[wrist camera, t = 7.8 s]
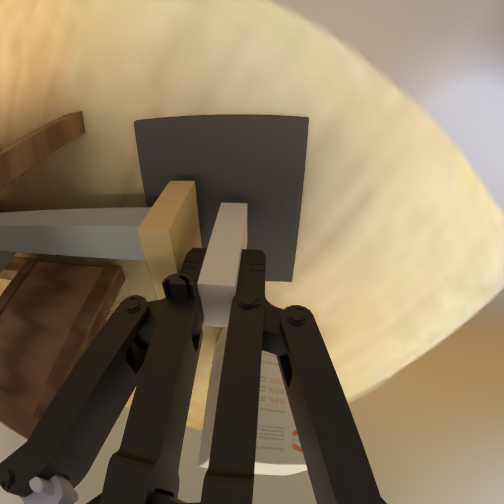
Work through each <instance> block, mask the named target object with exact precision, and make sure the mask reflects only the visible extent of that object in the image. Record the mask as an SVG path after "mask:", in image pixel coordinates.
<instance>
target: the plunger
mask: <svg viewBox="0 0 504 504" xmlns="http://www.w3.org/2000/svg"><path fill="white" fill-rule="evenodd" d="M192 248H202V243H201V235H200V226H199V217H198V208H197V198H196V188H195V181H170V182H169V183H168V185H167V186H166V187H165V189H164V190H163V192H162V193H161V195H160V196H159V198H158V199H157V200H156V202H155V203H154V205H153V206H152V207H127V208H83V209H57V210H37V211H20V212H5V213H1V212H0V273H1V271H2V270H3V269H4V267H5V266H6V265H7V264H8V262H9V261H10V260H11V259H12V257H13V256H14V255H15V254H16V253H17V252H24V253H37V254H51V255H65V256H79V257H94V258H110V259H126V260H143V261H146V264H147V267H148V271H149V274H150V277H151V281H152V284H153V287H154V291H155V294H156V297H157V300H161V299H163V298H165V293H164V290H163V286H162V282H163V280H164V279H165V278H166V277H168V276H169V275H172V274H175V273H180V270H181V268H182V264H183V262H184V259H185V256H186V254H187V253H188V252H189V251H190V250H191V249H192Z"/></svg>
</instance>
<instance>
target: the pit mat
mask: <svg viewBox="0 0 504 504" xmlns="http://www.w3.org/2000/svg"><path fill="white" fill-rule="evenodd" d="M308 122H309V119H308V117H294V116H276V115H199V116H181V117H167V118H156V119H146V120H137V121H135V122H134V127H135V135H136V142H137V149H138V156H139V162H140V168H141V174H142V180H143V185H144V191H145V196H146V201H147V206H148V207H152V206H153V205H154V203H155V202H156V200H157V199H158V198H159V196H160V195H161V193H162V192H163V190H164V189H165V187H166V186H167V185H168V183H169V182H170V181H195V188H196V198H197V208H198V217H199V226H200V235H201V243H202V248H208V244H209V241H210V238H211V234H212V231H213V228H214V225H215V221H216V218H217V215H218V212H219V208H220V205H221V203H247V249H252V250H262V251H263V252H264V254H265V256H266V271H265V281H285V282H292V277H293V269H294V261H295V254H296V245H297V237H298V228H299V220H300V210H301V201H302V191H303V181H304V171H305V159H306V148H307V135H308Z"/></svg>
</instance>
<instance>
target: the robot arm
mask: <svg viewBox="0 0 504 504" xmlns="http://www.w3.org/2000/svg"><path fill="white" fill-rule="evenodd" d="M265 271H266V256H265V254H264V252H263V251H262V250H252V249H247V203H221V205H220V208H219V212H218V215H217V218H216V221H215V225H214V228H213V231H212V234H211V238H210V241H209V244H208V248H192V249H191V250H190V251H189V252H188V253H187V254H186V256H185V259H184V262H183V264H182V268H181V270H180V273H175V274H172V275H169V276H168V277H166V278H165V279H164V280H163V282H162V286H163V290H164V293H165V298H163V299H161V300H156V301H151V302H147V301H146V299H145V298H143V297H142V296H137V295H135V296H130V297H128V298H126V299H124V300H123V301H122V302H121V303H120V305H119V306H118V307H117V309H116V310H115V311H114V313H113V314H112V315H111V317H110V318H109V319H108V321H107V322H106V323H105V325H104V326H103V327H102V329H101V330H100V331H99V333H98V334H97V335H96V337H95V338H94V340H93V341H92V342H91V344H90V345H89V346H88V348H87V349H86V351H85V352H84V354H83V355H82V356H81V358H80V359H79V361H78V362H77V364H76V365H75V366H74V368H73V369H72V371H71V372H70V374H69V375H68V377H67V378H66V380H65V381H64V383H63V384H62V386H61V387H60V389H59V390H58V392H57V393H56V395H55V397H54V398H53V400H52V401H51V403H50V404H49V406H48V408H47V409H46V411H45V412H44V414H43V416H42V417H41V419H40V421H39V422H38V424H37V425H36V427H35V429H34V431H33V432H32V434H31V436H30V437H29V439H28V441H27V442H26V443H25V444H24V445H22V446H21V447H20V448H19V449H17V450H16V451H15V452H14V453H13V454H11V455H10V456H9V457H7V458H6V459H5V460H4V461H2V462H1V463H0V485H1V487H2V488H3V489H4V490H5V491H7V492H9V493H12V494H15V495H18V496H20V497H21V499H22V500H23V502H24V504H74V502H76V501H78V494H77V492H76V491H75V490H74V488H75V487H76V486H77V485H78V484H79V483H80V482H81V481H82V479H83V478H84V477H85V476H86V474H87V472H88V471H89V469H90V468H91V466H92V464H93V462H94V460H95V458H96V457H97V455H98V453H99V451H100V449H101V447H102V446H103V444H104V442H105V440H106V438H107V436H108V435H109V433H110V431H111V429H112V427H113V426H114V424H115V422H116V420H117V419H118V417H119V415H120V413H121V412H122V410H123V408H124V406H125V405H126V403H127V401H128V399H129V398H130V396H131V394H132V392H133V391H134V389H135V387H136V386H137V387H136V390H135V394H134V397H133V401H132V404H131V408H130V412H129V416H128V419H127V423H126V427H125V431H124V435H123V439H122V443H121V446H120V449H119V450H118V452H116V453H114V454H113V455H112V457H111V458H110V461H109V464H108V468H107V473H106V478H105V482H104V487H103V492H102V493H101V494H100V495H98V496H97V497H95V498H94V499H93V500H91V501H90V502H88V503H87V504H252V496H253V484H254V469H255V455H256V440H257V425H258V409H259V392H260V375H261V357H262V350H263V351H266V352H269V353H272V354H275V355H276V357H277V361H278V364H279V368H280V372H281V375H282V379H283V383H284V386H285V390H286V394H287V397H288V401H289V405H290V408H291V412H292V415H293V419H294V423H295V426H296V430H297V434H298V437H299V441H300V444H301V448H302V452H303V455H304V459H305V462H306V466H307V470H308V473H309V476H310V480H311V484H312V487H313V491H314V495H315V498H316V502H317V504H387V503H386V502H385V501H384V500H383V499H382V498H381V497H380V494H379V491H378V487H377V485H376V482H375V479H374V476H373V473H372V470H371V467H370V464H369V461H368V458H367V455H366V453H365V450H364V447H363V444H362V441H361V438H360V436H359V433H358V430H357V427H356V425H355V422H354V419H353V417H352V414H351V411H350V409H349V406H348V403H347V400H346V398H345V395H344V392H343V390H342V387H341V384H340V382H339V379H338V377H337V374H336V371H335V369H334V366H333V364H332V361H331V359H330V356H329V354H328V351H327V349H326V346H325V343H324V341H323V338H322V336H321V333H320V331H319V329H318V326H317V324H316V321H315V319H314V316H313V314H312V313H311V311H310V310H308V309H307V308H306V307H303V306H300V305H292V306H289V307H287V308H285V309H280V308H277V307H275V306H273V305H271V304H270V303H269V302H268V301H267V300H266V298H265ZM203 320H204V325H205V326H213V327H226V328H228V330H227V337H226V343H225V350H224V357H223V364H222V371H221V378H220V385H219V392H218V399H217V406H216V414H215V421H214V428H213V435H212V443H211V450H210V458H209V465H208V470H207V472H206V474H205V478H204V482H203V489H202V497H201V502H200V503H186V502H183V501H181V500H179V499H177V497H178V491H179V475H178V469H179V463H180V456H181V450H182V444H183V438H184V433H185V427H186V421H187V416H188V410H189V405H190V399H191V394H192V388H193V383H194V378H195V373H196V368H197V362H198V357H199V352H200V347H201V342H202V337H203V331H202V324H203Z"/></svg>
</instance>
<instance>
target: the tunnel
mask: <svg viewBox="0 0 504 504" xmlns="http://www.w3.org/2000/svg"><path fill="white" fill-rule="evenodd" d="M84 132H85V129H84V123H83V116H82V111H80V112H76V113H72V114H68V115H64V116H62V117H60V118H58V119H56V120H54V121H52V122H50V123H48V124H46V125H44V126H42V127H40V128H38V129H36V130H34V131H33V132H31V133H29V134H27V135H25V136H24V137H22V138H20V139H18V140H17V141H15V142H13V143H12V144H10V145H8V146H7V147H5V148H4V149H2V150H0V191H1V190H2V189H3V188H5V187H6V186H7V185H8V184H9V183H11V182H12V181H13V180H15V179H16V178H17V177H18V176H20V175H21V174H22V173H24V172H25V171H26V170H28V169H29V168H30V167H32V166H33V165H35V164H36V163H37V162H39V161H40V160H42V159H43V158H45V157H46V156H48V155H49V154H51V153H52V152H54V151H55V150H57V149H58V148H60V147H61V146H63V145H65V144H66V143H68V142H69V141H71V140H73V139H74V138H76V137H78V136H79V135H81V134H83V133H84ZM0 278H2V279H7V280H12V281H11V282H10V283H9V285H8V286H7V288H6V289H5V291H4V292H3V293H2V295H1V296H0V423H2V424H3V425H5V426H6V427H8V428H9V429H11V430H13V431H14V432H16V433H18V434H19V435H21V436H23V437H24V438H26V439H29V437H30V436H31V434H32V432H33V431H34V429H35V427H36V425H37V424H38V422H39V421H40V419H41V417H42V416H43V414H44V412H45V411H46V409H47V408H48V406H49V404H50V403H51V401H52V400H53V398H54V397H55V395H56V393H57V392H58V390H59V389H60V387H61V386H62V384H63V383H64V381H65V380H66V378H67V377H68V375H69V374H70V372H71V371H72V369H73V368H74V366H75V365H76V364H77V362H78V361H79V359H80V358H81V356H82V355H83V354H84V352H85V351H86V349H87V348H88V346H89V345H90V344H91V342H92V341H93V340H94V338H95V337H96V335H97V334H98V333H99V331H100V330H101V329H102V327H103V324H104V322H105V320H106V318H107V316H108V314H109V311H110V309H111V307H112V305H113V303H114V301H115V299H116V297H117V295H118V293H119V291H120V289H121V287H122V285H123V283H124V281H125V277H124V275H123V272H122V269H121V266H109V265H106V266H105V267H95V266H82V265H71V264H60V263H49V262H38V261H37V259H26V258H16V257H12V259H11V260H10V261H9V262H8V264H7V265H6V266H5V267H4V269H3V270H2V271H1V273H0Z"/></svg>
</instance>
